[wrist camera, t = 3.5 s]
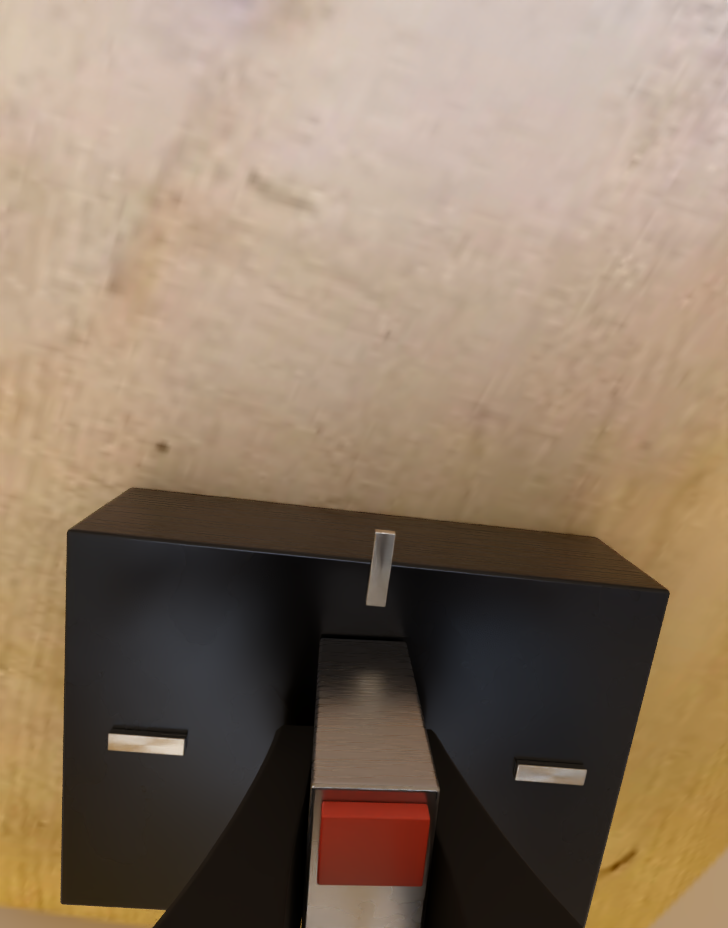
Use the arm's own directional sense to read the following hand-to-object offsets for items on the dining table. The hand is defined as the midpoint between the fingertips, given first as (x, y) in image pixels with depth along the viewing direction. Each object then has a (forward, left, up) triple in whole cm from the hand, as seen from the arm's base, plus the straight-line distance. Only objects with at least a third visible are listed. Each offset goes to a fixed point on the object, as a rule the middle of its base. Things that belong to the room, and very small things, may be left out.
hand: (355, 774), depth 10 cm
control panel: (0, 0, -3) cm, 3 cm away
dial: (0, 0, 0) cm, 0 cm away
